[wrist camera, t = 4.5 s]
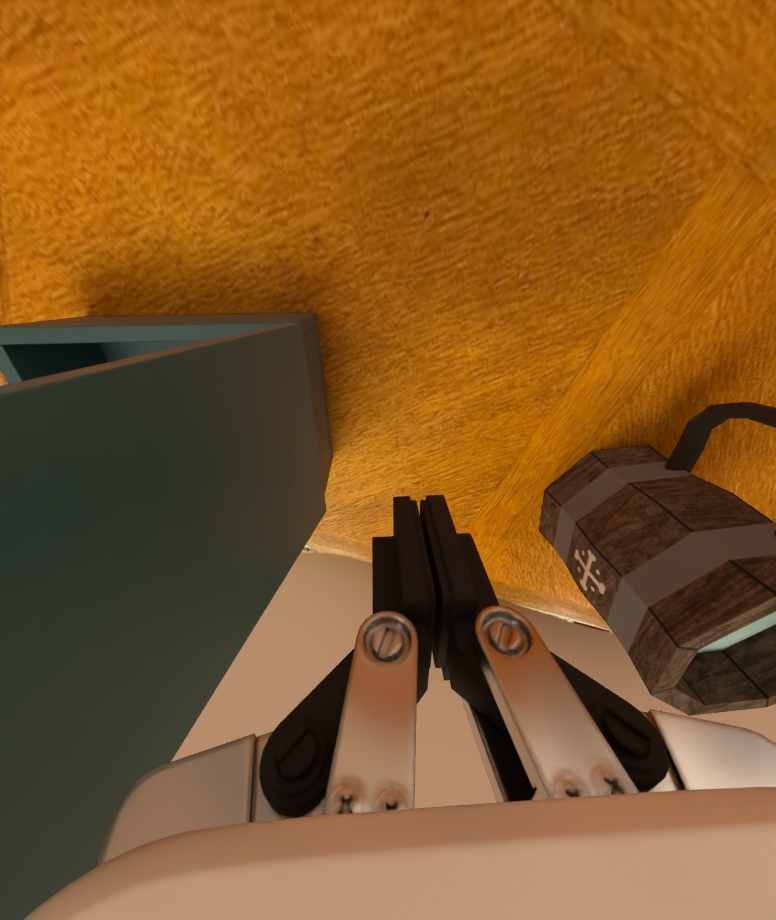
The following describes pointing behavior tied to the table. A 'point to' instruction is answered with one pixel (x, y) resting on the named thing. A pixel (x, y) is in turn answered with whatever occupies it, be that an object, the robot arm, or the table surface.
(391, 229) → the table surface
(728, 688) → the mug
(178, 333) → the box
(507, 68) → the table surface
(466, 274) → the table surface
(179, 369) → the lunchbox lid
